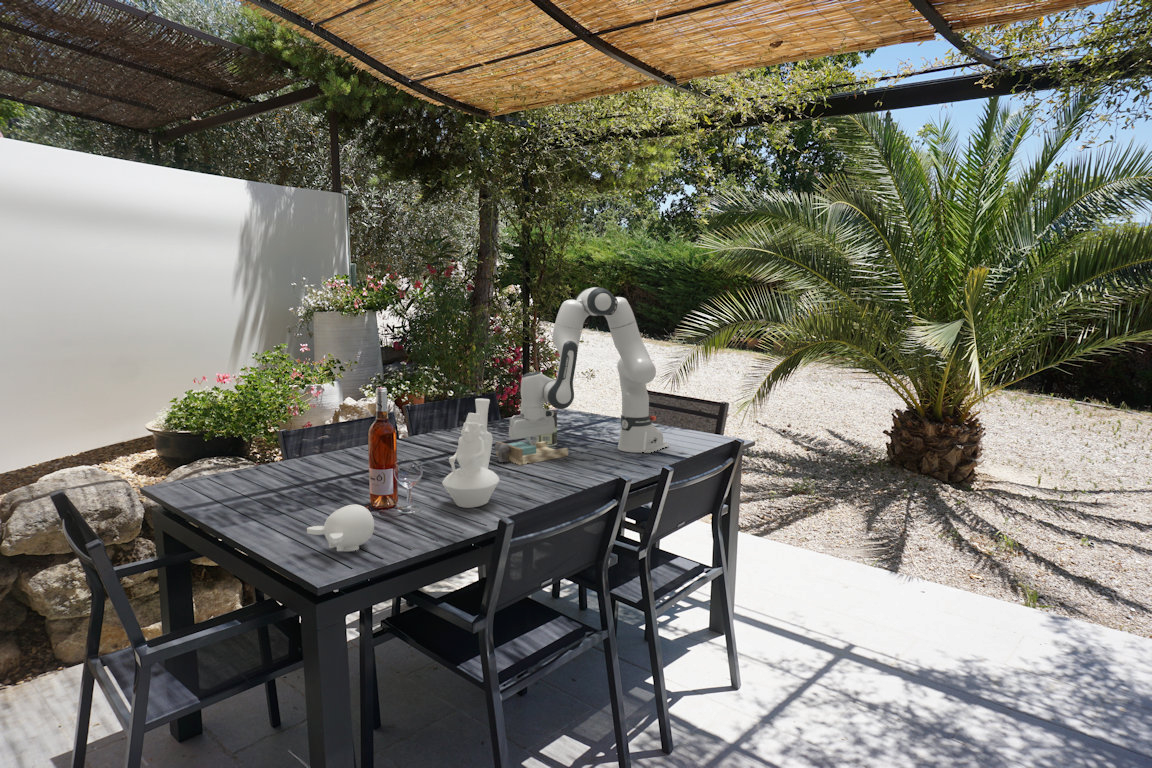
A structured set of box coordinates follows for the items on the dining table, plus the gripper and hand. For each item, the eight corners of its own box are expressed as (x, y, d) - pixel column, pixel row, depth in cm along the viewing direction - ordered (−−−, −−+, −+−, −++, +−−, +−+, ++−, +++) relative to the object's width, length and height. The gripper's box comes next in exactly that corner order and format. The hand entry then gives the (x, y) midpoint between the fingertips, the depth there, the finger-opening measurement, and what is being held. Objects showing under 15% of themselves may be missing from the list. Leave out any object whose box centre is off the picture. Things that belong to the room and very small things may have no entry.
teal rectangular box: (521, 451, 287) (521, 441, 287) (536, 456, 279) (536, 446, 279) (504, 454, 282) (504, 444, 282) (519, 459, 274) (519, 449, 274)
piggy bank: (363, 542, 196) (314, 563, 184) (351, 501, 196) (301, 519, 184) (389, 540, 188) (340, 561, 176) (377, 497, 188) (327, 515, 176)
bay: (544, 448, 298) (544, 431, 297) (568, 455, 286) (568, 438, 285) (484, 459, 280) (484, 441, 279) (507, 467, 268) (507, 448, 267)
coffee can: (548, 440, 313) (548, 408, 311) (561, 444, 304) (561, 412, 302) (528, 443, 307) (528, 410, 305) (541, 448, 299) (541, 414, 297)
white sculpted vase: (430, 506, 222) (427, 404, 217) (473, 489, 240) (472, 394, 236) (476, 516, 213) (475, 410, 208) (517, 497, 232) (517, 399, 227)
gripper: (514, 417, 273) (514, 452, 275) (557, 411, 286) (556, 445, 288) (505, 414, 278) (505, 449, 280) (547, 409, 291) (547, 442, 293)
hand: (531, 447), depth 284 cm, fingers closed
